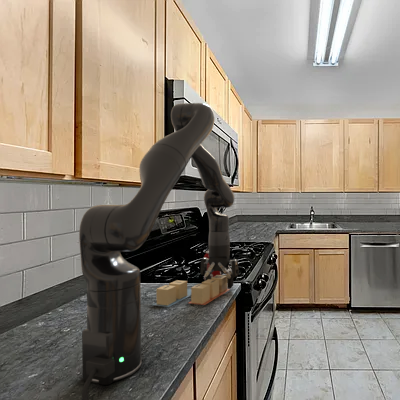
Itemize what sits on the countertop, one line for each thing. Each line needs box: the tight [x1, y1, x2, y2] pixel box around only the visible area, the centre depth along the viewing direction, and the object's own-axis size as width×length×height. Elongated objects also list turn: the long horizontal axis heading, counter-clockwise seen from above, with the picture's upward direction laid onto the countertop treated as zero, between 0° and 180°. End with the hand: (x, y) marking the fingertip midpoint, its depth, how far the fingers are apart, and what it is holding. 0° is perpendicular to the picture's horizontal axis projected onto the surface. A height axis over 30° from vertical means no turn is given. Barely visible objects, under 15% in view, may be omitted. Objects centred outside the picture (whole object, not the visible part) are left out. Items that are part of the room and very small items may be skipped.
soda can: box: [203, 250, 222, 281], centre depth 127 cm, size 7×7×12 cm
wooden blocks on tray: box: [188, 279, 231, 306], centre depth 107 cm, size 17×6×5 cm, turn 165°
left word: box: [151, 279, 191, 308], centre depth 105 cm, size 18×6×5 cm, turn 165°
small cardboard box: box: [211, 274, 228, 292], centre depth 113 cm, size 4×4×5 cm
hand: (219, 287), depth 112 cm, fingers open, 8 cm apart
